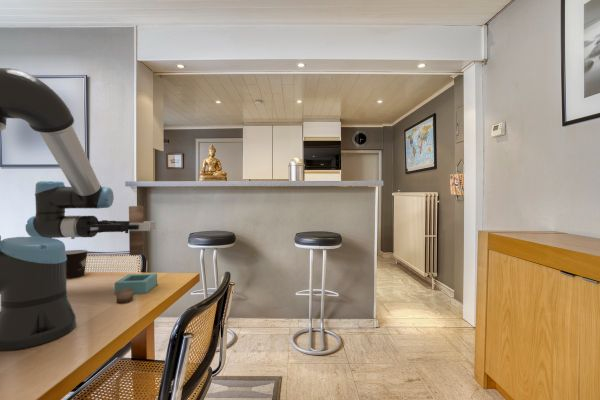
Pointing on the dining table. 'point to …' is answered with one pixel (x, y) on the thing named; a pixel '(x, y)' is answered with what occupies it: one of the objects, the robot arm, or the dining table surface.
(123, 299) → the brown rounded block
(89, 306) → the dining table surface
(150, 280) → the hole block
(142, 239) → the long pin
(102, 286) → the dining table surface
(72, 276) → the coffee mug
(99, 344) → the dining table surface
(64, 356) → the dining table surface
